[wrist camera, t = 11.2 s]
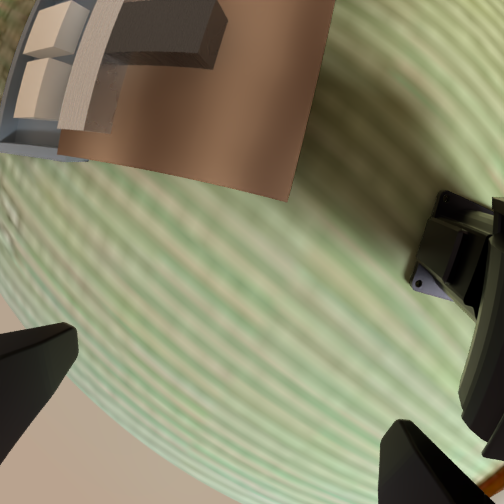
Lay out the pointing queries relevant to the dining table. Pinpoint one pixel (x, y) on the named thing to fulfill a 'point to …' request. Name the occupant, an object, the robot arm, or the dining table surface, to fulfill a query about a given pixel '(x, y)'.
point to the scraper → (135, 52)
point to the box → (3, 124)
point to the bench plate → (223, 104)
